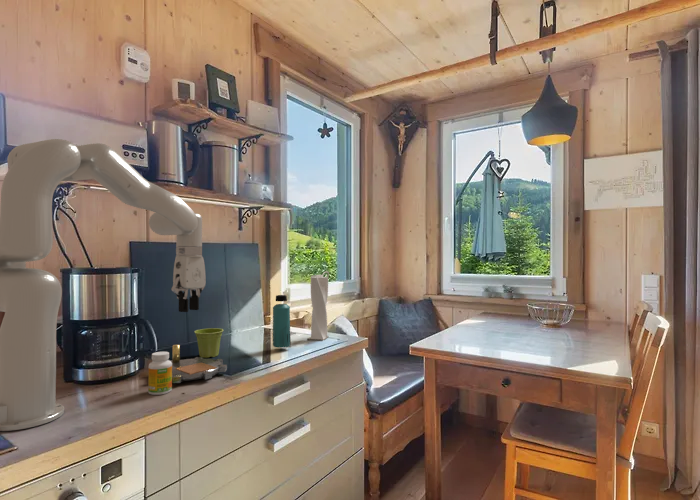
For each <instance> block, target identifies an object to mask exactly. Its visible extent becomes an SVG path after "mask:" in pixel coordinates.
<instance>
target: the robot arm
mask: <svg viewBox="0 0 700 500" xmlns="http://www.w3.org/2000/svg"><path fill="white" fill-rule="evenodd" d="M7 166H8V170H7V172H6V173H5V176H4V178H3V180H2V184H1V189H0V313H1V312H2V313H3V312H4V315H3V318H2V321H1V324H0V432H10V431H19V430H25V429H30V428H34V427H39V426H42V425H45V424H47V423H50V422H53V421H54V420H57V419H58V418H60V417H62V415H63V414H65V406H64V405H63V404H61V403H57V402H56V397H57V396H56V394H57V393H56V391H57V390H56V387H57V386H56V385H57V384H56V383H57V323H58V322H57V321H58V314H59V312H60V311H59V310H60V307H61V306H60V305H61V302H62V295H63V288H62V284H61V282H60V280H59V279H58V278H57V276H55V274H53V273H51V272H50V271H47V270H44V269H41V268H33V267H30V268H29V267H26V266H27V265H26V264H27V263H28V262H36V261H40V260H42V259H45V258H46V257H47V256H48V255H49V254H50V253H51V251H52V249H53V245H54V244H53V243H54V235H53V231H54V230H53V228H54V227H53V199H54V198H53V197H54V193H55V191H56V189H57V187H58V186H59V184H60V183H61V182H75V181H86V180H87V181H88V180H95V181H96V182H97V183H99V185H101V186H102V187H104V188H105V189H106V190H107V191H108V192H110V193H111V194H112V195H113V196H114V197H115V198H116V199H118V200H119V201H121V203H123V204H125V205H128V206H130V207H133V208H136V209H137V208H138V209H141V210H142V209H143V210H146V211H150V212H153V213H152V214H151V215H150V217H149V221H148V225H149V228H150V229H151V231H152V232H154V233H155V234H157V235H160V236H176V237H175V238H176V244H175V245H176V246H175V247H176V248H175V254H176V255H175V260H174V263H173V274H172V275H173V276H172V282H173V283H172V287H171V288H170V289H171V291H172V292H173V293H174V294H175V296H176V299H178V312H179V313H188V312H189V310H190V311H199V308H200V300H199V299H200V297H201V293H202V292H203V290H204V289H205V288H206V284H207V283H206V280H207V279H206V278H207V277H206V265H205V264H206V263H205V260H204V259H205V258H204V257H203V217H202V215H201V214H199V213H197V212H196V213H195V211H194V210H193V209H192V208H191V207H190V206H189V205H188V204H187V203H186V202H185V201H184V200H183V199H182V198H181V197H179V196H178V195H176V194H175V193H173V192H171V191H169V190H167V189H165V188H164V187H161V186H159V185H157V184H155V183H153V182H151V181H148V179H146V178H144V177H143V175H141V173H140V172H138V170H136V169H135V168H134V167H133V166H132V165H131V164H129V163H128V161H127V160H126V159H124V158H123V157H122V156H121V155H120V154H119V153H118V152H117V151H116V150H114V148H113V147H111V146H109V145H107V144H105V143H98V142H95V143H90V144H88V143H87V144H82V145H76V144H74V143H73V142H71V141H69V140H66V139H59V138H52V139H45V140H39V141H35V142H29V143H25V144H20V145H17V146H15V147H14V148H12V149H11V150H10V151H9V154H8V156H7ZM189 292H190V296H189V298H188V293H189Z"/></svg>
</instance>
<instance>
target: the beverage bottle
mask: <svg viewBox="0 0 700 500" xmlns="http://www.w3.org/2000/svg"><path fill="white" fill-rule="evenodd" d="M287 301H288V297H287V295H286V294H279V295H277V294H276V295H275V302H287ZM290 309H291V306H290V305H289V304H287V303H286V304H285V303H277V304H274V306H273V307H272V326H271V327H272V346H273V347H274V348H281V349H282V348H288V347H290V346H291V316H290V315H291V313H290V311H291V310H290Z"/></svg>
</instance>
